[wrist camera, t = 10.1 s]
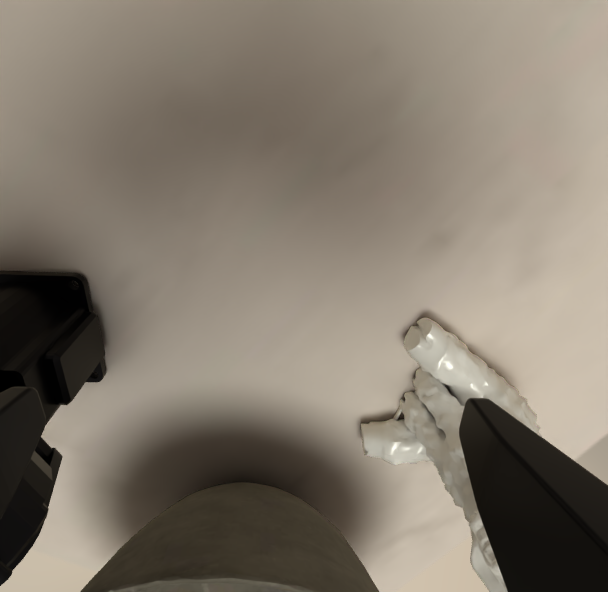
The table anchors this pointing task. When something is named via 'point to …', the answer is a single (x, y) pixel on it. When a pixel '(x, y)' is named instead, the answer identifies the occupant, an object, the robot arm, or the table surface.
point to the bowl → (236, 548)
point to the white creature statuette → (446, 425)
